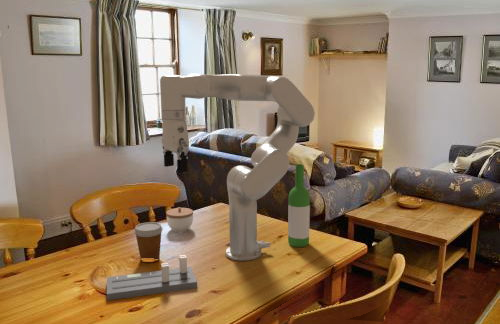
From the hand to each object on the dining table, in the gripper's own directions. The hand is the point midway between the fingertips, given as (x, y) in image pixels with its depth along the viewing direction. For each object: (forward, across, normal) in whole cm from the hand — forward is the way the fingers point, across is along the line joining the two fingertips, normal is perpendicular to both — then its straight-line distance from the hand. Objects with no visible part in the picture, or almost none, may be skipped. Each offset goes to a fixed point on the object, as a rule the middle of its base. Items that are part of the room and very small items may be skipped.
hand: (175, 168), depth 151 cm
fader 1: (+31, -12, +10) cm, 35 cm away
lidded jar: (+33, +30, -15) cm, 48 cm away
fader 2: (+31, -10, +3) cm, 32 cm away
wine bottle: (+33, -8, -45) cm, 56 cm away
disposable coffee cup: (+33, +10, +6) cm, 35 cm away
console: (+33, -8, +13) cm, 37 cm away
